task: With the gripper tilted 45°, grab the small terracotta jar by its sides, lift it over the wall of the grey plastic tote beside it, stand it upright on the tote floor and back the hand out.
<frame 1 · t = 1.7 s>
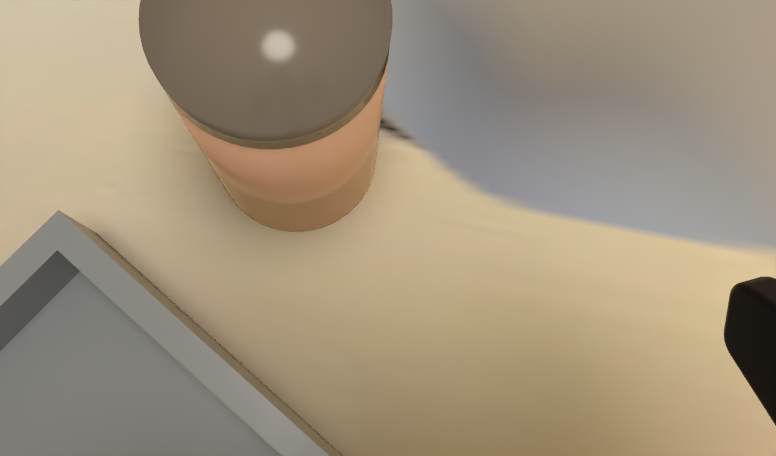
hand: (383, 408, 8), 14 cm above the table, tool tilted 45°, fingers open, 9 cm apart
terracotta jar: (297, 155, 23), on the table
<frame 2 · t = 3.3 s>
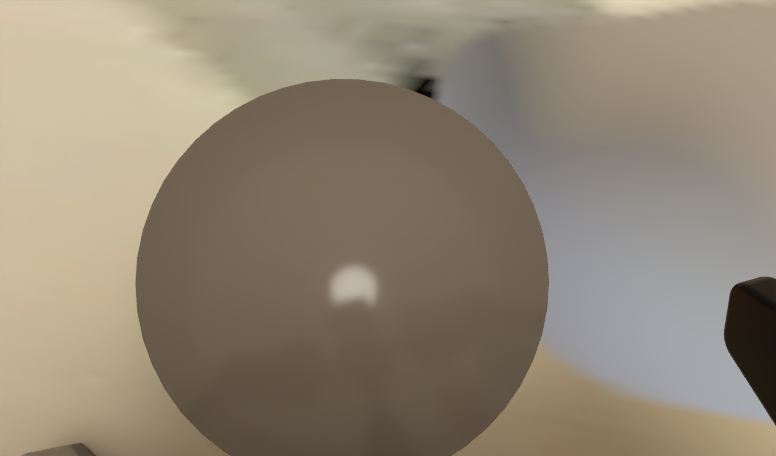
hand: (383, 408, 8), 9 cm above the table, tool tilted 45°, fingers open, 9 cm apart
terracotta jar: (347, 328, 17), on the table
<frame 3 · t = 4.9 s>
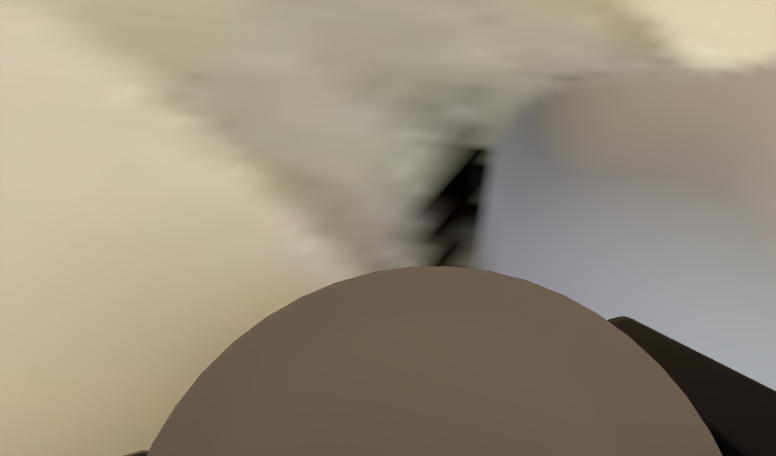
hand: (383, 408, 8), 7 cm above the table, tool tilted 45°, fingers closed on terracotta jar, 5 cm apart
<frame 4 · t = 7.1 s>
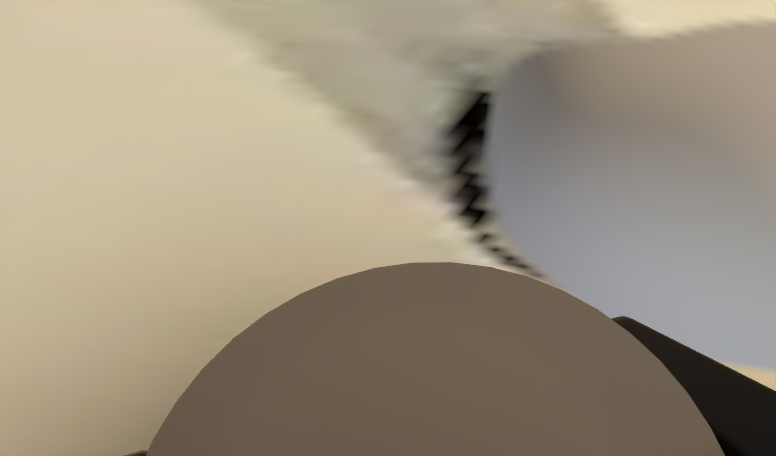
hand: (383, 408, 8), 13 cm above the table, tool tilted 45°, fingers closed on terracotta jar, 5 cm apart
when the fingers open (9 cm above the table, at t = 9.3 s): terracotta jar drops 1 cm, resting on tote.
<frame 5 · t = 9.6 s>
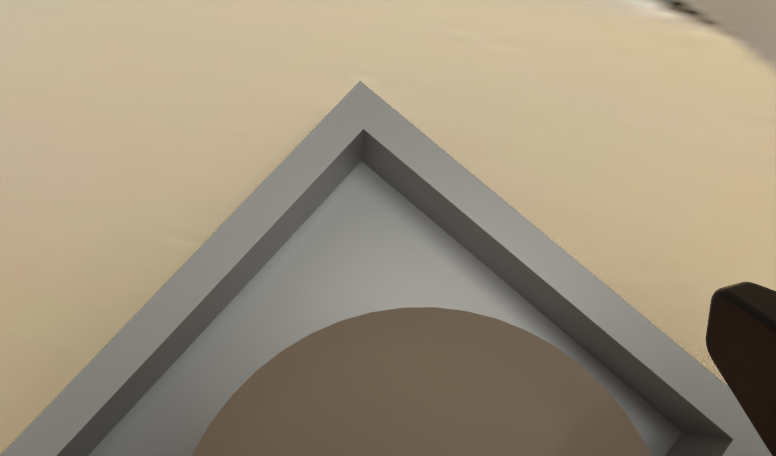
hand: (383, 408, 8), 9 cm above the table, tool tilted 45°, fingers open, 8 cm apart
tote: (380, 453, 16), on the table
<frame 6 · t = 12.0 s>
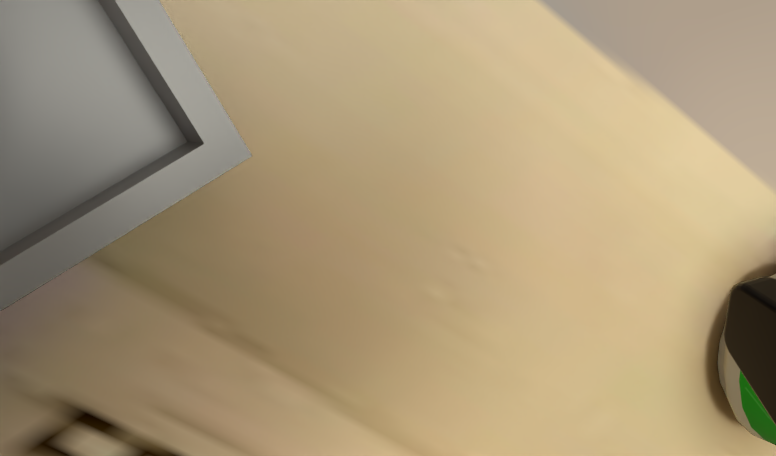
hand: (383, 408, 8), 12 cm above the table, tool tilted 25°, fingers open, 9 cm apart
soda can: (759, 344, 30), on the table
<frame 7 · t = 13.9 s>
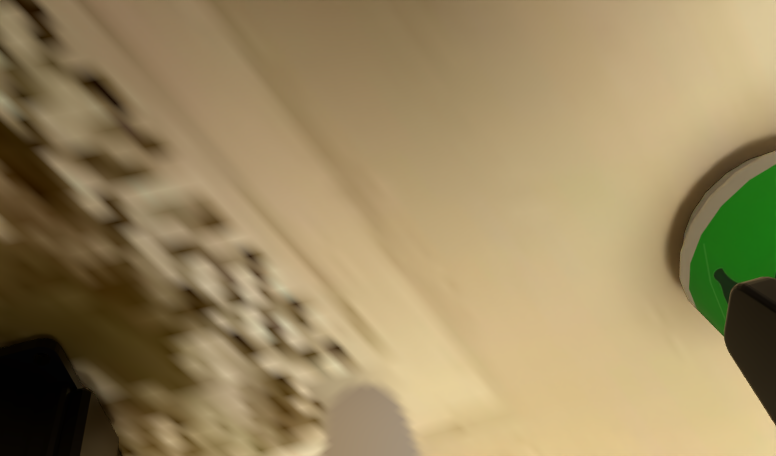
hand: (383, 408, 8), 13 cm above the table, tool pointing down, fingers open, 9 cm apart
soda can: (749, 219, 26), on the table
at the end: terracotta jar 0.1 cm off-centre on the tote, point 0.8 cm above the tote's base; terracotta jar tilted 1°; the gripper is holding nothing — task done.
